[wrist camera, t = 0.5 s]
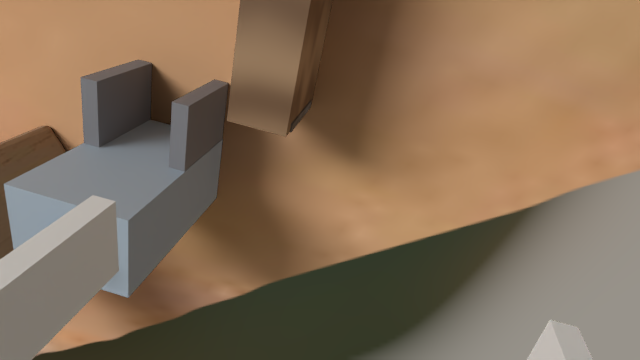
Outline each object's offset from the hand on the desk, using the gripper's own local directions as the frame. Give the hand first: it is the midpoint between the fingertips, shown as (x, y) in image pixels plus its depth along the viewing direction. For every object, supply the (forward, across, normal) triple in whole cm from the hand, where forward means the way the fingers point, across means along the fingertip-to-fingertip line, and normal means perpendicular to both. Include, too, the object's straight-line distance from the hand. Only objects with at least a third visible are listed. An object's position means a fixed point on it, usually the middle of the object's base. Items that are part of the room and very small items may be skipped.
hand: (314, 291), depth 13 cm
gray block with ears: (+23, -16, -7) cm, 29 cm away
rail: (+23, -7, +6) cm, 25 cm away
